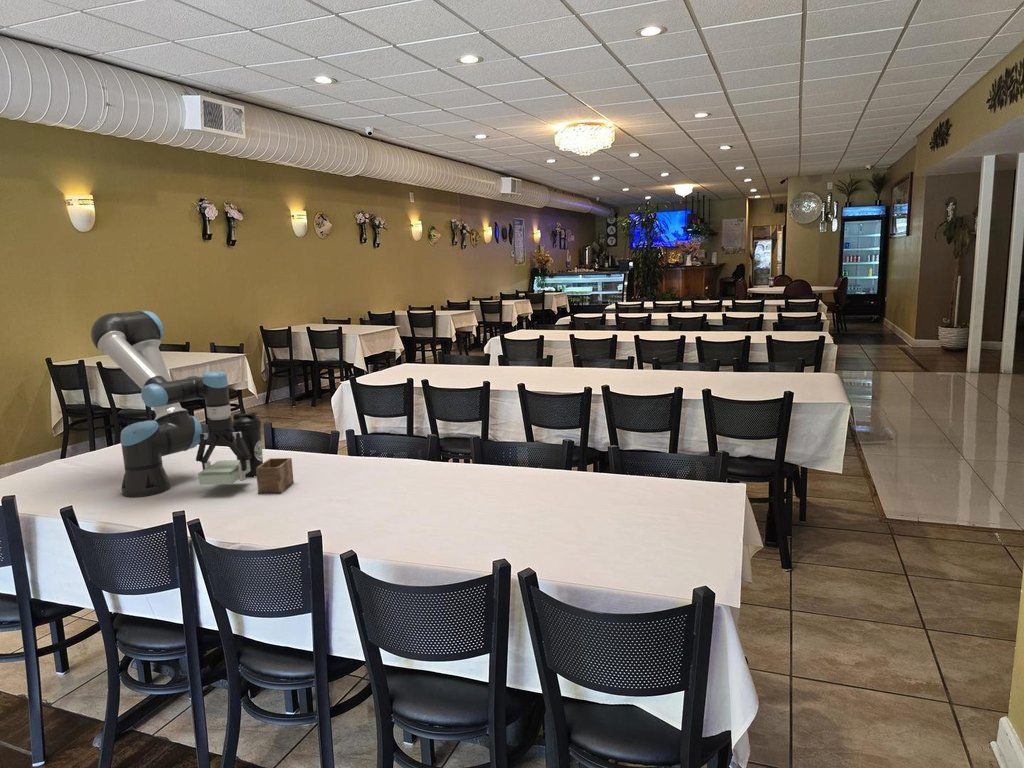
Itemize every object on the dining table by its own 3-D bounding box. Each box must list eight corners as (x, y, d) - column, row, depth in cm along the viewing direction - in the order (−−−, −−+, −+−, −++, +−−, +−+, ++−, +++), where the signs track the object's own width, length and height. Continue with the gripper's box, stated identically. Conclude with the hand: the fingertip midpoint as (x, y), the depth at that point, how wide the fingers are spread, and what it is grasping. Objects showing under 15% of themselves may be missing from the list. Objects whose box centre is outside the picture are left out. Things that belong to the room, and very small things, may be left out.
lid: (231, 483, 236) (230, 472, 235) (199, 484, 236) (198, 472, 236) (250, 470, 250) (249, 459, 250) (220, 471, 251) (218, 460, 250)
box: (281, 493, 238) (278, 467, 237) (258, 494, 239) (255, 468, 237) (293, 482, 250) (291, 458, 248) (271, 483, 250) (269, 458, 249)
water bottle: (260, 478, 257) (254, 416, 253) (232, 479, 257) (225, 416, 253) (270, 470, 267) (264, 410, 263) (243, 470, 267) (237, 410, 263)
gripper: (179, 421, 237) (187, 484, 241) (248, 419, 236) (255, 482, 239) (191, 416, 244) (198, 477, 248) (257, 414, 243) (263, 476, 247)
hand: (226, 480), depth 244 cm, fingers closed on lid, 11 cm apart
